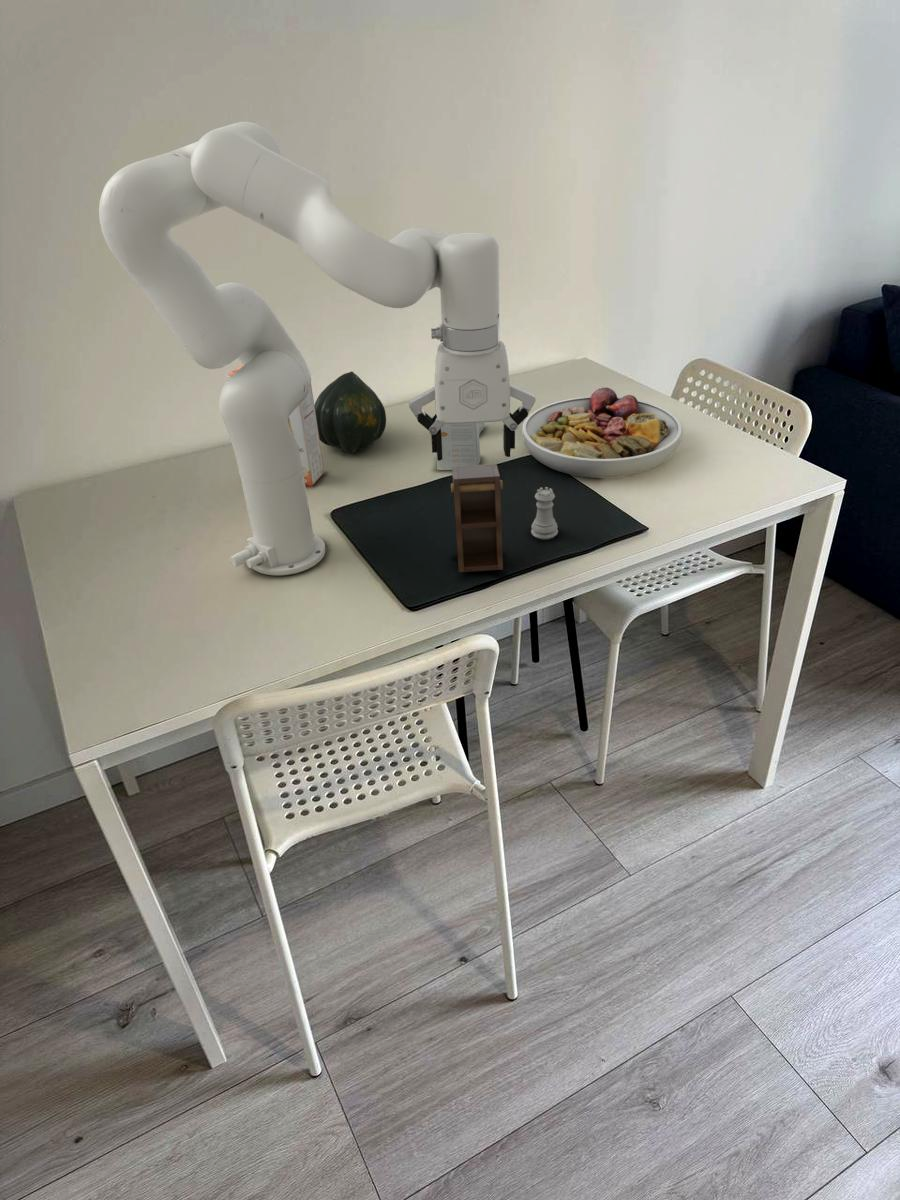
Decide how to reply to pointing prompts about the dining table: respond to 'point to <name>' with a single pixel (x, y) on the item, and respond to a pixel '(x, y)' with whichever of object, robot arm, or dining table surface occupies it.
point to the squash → (349, 414)
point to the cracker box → (305, 437)
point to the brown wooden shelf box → (478, 517)
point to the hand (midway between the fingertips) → (473, 454)
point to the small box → (459, 445)
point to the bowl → (602, 435)
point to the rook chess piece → (544, 516)
